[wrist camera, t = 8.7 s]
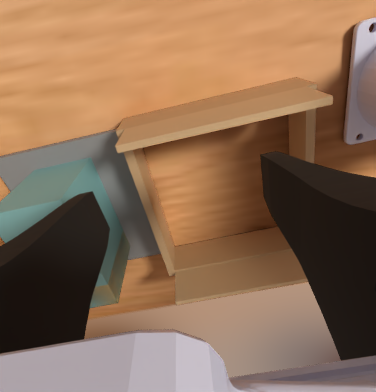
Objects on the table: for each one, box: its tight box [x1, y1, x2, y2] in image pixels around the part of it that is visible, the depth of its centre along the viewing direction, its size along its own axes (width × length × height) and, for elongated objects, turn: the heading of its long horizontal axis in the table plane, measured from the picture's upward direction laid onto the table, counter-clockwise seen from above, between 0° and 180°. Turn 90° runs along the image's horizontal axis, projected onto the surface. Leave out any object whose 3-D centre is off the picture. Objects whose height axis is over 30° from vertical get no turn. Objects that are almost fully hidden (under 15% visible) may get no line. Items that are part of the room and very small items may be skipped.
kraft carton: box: [115, 77, 333, 305], centre depth 19 cm, size 12×13×6 cm
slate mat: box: [0, 129, 161, 260], centre depth 22 cm, size 10×12×1 cm
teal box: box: [0, 157, 130, 308], centre depth 19 cm, size 4×9×6 cm, turn 12°
